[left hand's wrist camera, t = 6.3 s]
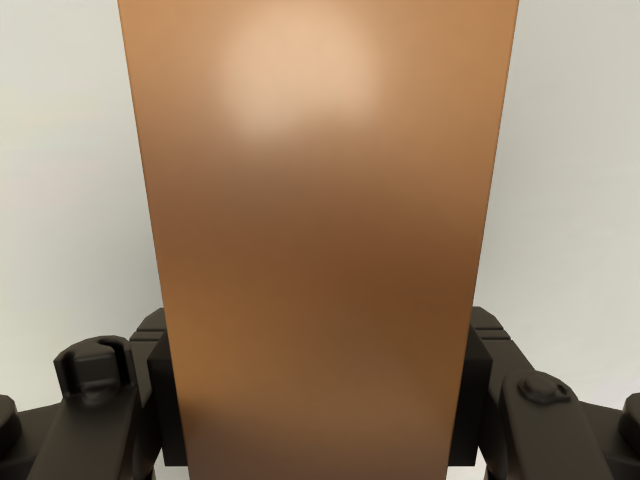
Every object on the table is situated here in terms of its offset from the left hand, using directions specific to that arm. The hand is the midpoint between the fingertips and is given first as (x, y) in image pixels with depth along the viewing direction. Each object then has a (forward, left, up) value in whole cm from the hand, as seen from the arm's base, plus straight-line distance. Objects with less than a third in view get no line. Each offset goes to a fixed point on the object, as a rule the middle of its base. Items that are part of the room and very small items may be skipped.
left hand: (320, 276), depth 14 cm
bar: (+16, +17, -1) cm, 24 cm away
